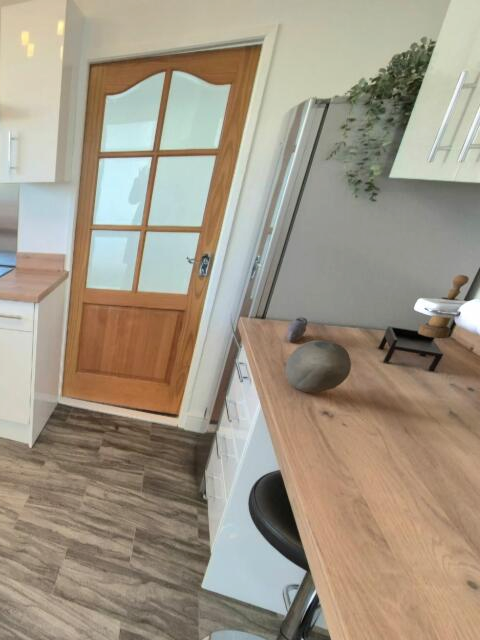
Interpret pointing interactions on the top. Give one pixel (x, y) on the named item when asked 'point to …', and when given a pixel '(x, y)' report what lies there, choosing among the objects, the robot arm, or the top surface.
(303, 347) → the cantaloupe
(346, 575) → the top surface
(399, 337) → the tray
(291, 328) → the perforated stone tool
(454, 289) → the mortar and pestle
